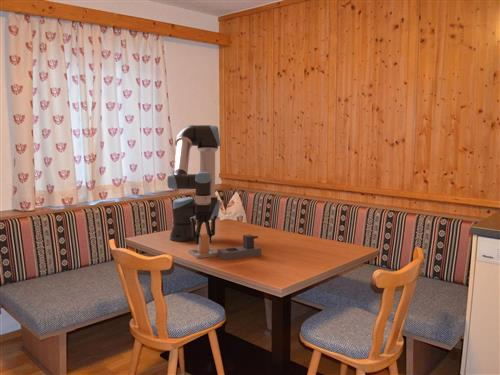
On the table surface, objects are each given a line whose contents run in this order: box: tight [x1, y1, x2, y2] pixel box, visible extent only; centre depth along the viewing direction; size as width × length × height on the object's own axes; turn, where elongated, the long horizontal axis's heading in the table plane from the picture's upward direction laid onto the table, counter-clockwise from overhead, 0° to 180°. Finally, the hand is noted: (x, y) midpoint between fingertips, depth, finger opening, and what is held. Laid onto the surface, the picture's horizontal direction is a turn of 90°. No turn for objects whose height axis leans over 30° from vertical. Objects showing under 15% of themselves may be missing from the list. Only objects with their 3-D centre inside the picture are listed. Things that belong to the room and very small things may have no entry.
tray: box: [188, 247, 218, 259], centre depth 229 cm, size 11×11×2 cm
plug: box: [198, 232, 209, 255], centre depth 229 cm, size 4×4×10 cm
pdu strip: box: [217, 234, 262, 261], centre depth 227 cm, size 8×20×10 cm, turn 118°
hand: (203, 250), depth 229 cm, fingers closed on plug, 4 cm apart
